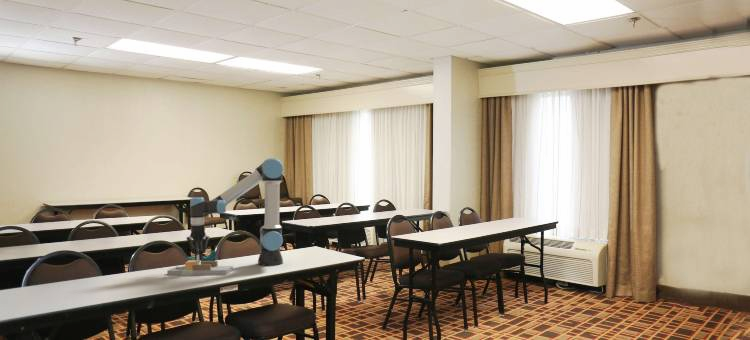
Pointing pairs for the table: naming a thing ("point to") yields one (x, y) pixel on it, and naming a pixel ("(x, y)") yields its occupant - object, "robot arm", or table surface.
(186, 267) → the block
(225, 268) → the deck
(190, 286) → the table surface
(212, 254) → the teal l-shaped bracket
